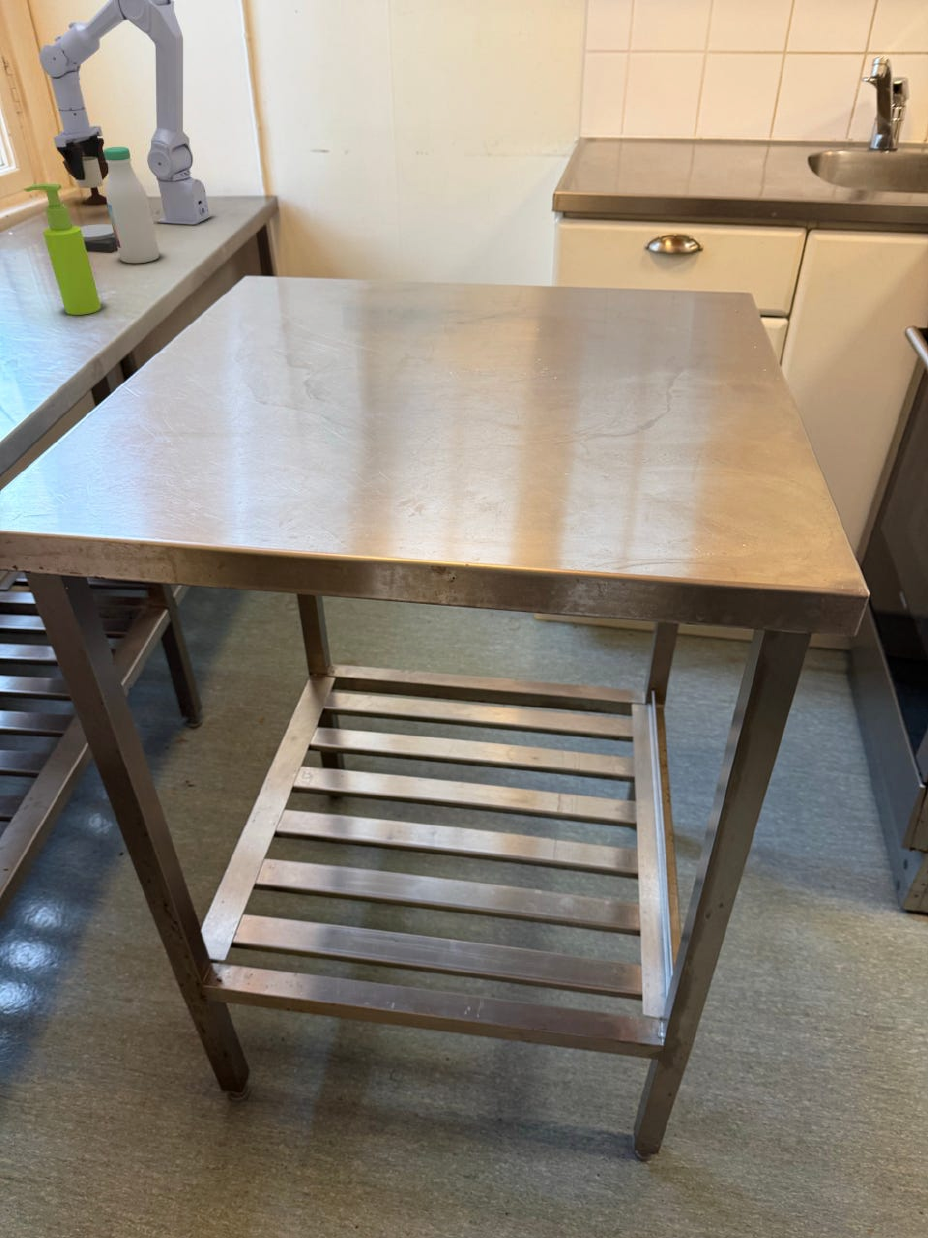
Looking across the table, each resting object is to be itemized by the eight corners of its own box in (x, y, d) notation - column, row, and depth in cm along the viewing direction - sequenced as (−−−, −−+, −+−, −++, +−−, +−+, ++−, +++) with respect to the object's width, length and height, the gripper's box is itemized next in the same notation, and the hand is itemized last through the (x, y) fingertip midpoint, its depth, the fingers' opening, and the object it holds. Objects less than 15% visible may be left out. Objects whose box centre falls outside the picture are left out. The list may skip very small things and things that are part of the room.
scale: (140, 238, 192) (137, 225, 191) (110, 252, 184) (107, 239, 182) (88, 234, 195) (85, 222, 194) (56, 248, 187) (53, 235, 185)
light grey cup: (108, 183, 207) (102, 156, 204) (93, 188, 203) (87, 161, 199) (87, 181, 208) (81, 155, 205) (72, 187, 204) (65, 160, 201)
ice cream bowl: (106, 207, 215) (90, 137, 206) (64, 205, 217) (46, 136, 208) (128, 197, 223) (113, 129, 214) (88, 196, 225) (71, 128, 216)
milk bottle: (167, 254, 182) (145, 145, 170) (145, 265, 176) (120, 153, 164) (135, 251, 184) (111, 143, 172) (112, 262, 178) (85, 150, 166)
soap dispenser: (67, 303, 158) (33, 180, 146) (105, 303, 158) (74, 180, 146) (54, 314, 154) (17, 188, 141) (93, 314, 153) (60, 188, 141)
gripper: (76, 103, 203) (92, 169, 211) (35, 113, 192) (53, 182, 200) (103, 104, 201) (118, 170, 209) (63, 114, 190) (80, 183, 198)
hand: (88, 176), depth 205 cm, fingers closed on light grey cup, 5 cm apart
